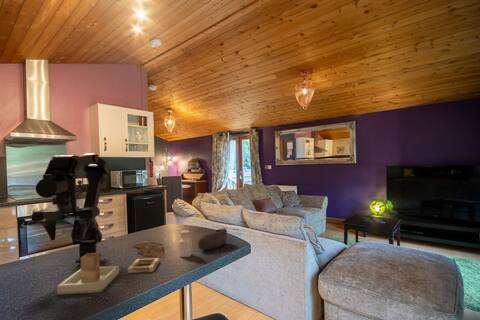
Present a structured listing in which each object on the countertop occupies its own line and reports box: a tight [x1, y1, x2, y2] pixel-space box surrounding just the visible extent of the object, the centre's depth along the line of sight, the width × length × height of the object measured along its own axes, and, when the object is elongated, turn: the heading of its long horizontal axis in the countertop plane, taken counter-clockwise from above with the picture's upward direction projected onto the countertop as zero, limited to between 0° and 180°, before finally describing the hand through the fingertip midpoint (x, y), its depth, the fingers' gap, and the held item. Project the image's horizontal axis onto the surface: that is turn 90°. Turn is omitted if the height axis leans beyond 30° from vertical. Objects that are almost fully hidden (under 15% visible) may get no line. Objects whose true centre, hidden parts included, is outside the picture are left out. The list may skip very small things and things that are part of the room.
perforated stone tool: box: [197, 227, 228, 251], centre depth 106 cm, size 15×5×7 cm, turn 131°
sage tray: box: [56, 265, 120, 296], centre depth 77 cm, size 12×12×2 cm
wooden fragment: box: [132, 240, 166, 259], centre depth 106 cm, size 26×11×1 cm, turn 35°
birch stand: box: [127, 257, 160, 274], centre depth 88 cm, size 8×8×2 cm
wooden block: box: [80, 252, 100, 283], centre depth 77 cm, size 4×4×8 cm
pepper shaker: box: [178, 229, 193, 258], centre depth 97 cm, size 4×4×10 cm
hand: (67, 239), depth 83 cm, fingers open, 9 cm apart
